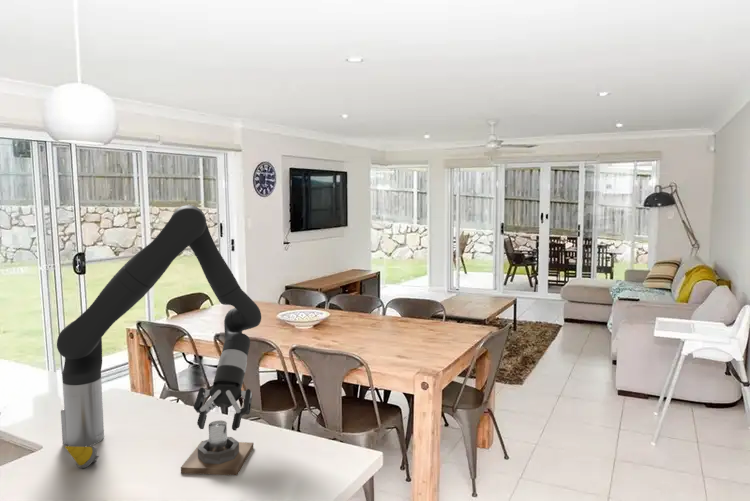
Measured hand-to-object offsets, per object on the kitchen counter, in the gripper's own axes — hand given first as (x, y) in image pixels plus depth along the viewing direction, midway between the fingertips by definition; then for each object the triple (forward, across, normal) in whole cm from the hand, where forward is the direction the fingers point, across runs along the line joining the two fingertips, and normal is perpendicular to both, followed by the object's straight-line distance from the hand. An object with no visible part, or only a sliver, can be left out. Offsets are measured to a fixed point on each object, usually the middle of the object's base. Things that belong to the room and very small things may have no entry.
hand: (217, 428), depth 138 cm
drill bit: (+10, -32, +2) cm, 34 cm away
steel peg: (+5, 0, +5) cm, 7 cm away
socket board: (+6, 0, +6) cm, 8 cm away
